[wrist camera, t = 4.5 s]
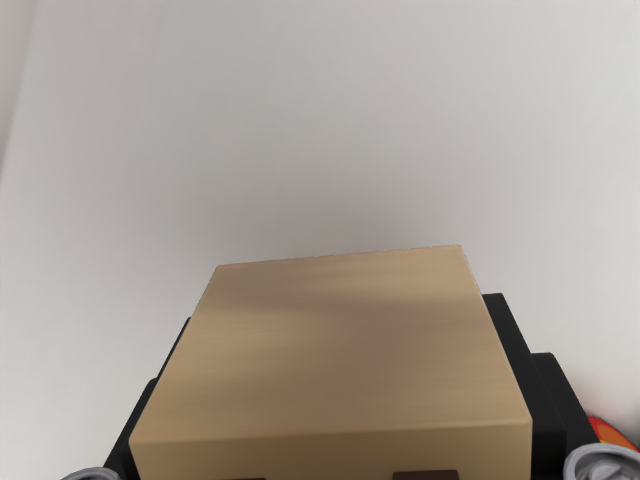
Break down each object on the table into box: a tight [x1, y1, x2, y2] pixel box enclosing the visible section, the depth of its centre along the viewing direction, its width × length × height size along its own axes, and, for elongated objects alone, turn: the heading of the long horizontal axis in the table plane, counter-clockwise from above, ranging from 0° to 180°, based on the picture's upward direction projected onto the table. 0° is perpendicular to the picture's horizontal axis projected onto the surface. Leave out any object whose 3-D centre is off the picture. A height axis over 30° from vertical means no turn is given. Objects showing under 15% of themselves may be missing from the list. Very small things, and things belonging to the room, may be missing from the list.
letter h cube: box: [129, 244, 533, 480], centre depth 10 cm, size 5×5×5 cm
